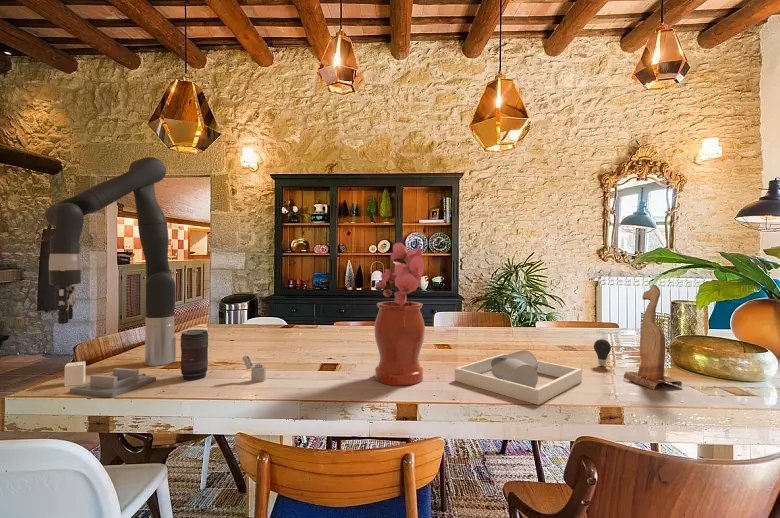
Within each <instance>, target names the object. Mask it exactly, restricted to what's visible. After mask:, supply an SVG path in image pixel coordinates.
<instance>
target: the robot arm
mask: <svg viewBox="0 0 780 518" xmlns="http://www.w3.org/2000/svg"><path fill="white" fill-rule="evenodd" d="M166 173H167V168H166V166H165V164H164V162H163V161H161V160H160V159H158V157H157V158H156V157H152V156H147V157H146V156H145V157H142V158H139V159H136V160H134V161H132V162H130V165H129V167H128V171H126V172H125V173H122V174H120V175H118V176H116V177H113V178H110V179H107V180H105V181H102V182H100V183H98V184H95V185H93V186H91V187H89V188H87V189H85V190H83V191H82V192H80V193H78V194H76V195H74V196H72V197H71V196H70V197H68V198H66V199H63V200H61V201H58V202H56V203H54V204H52V205H51V206H49V207H48V208H47V209H46V210H45V215H44V216H45V219H46V222H47V223H49V224H50V225H52V226H54V227H55V230H54V234H53V235H51V237H50V239H49V259H48V284H49V285H51V286H58V289H57V288H56V289H55V310H56V312H57V315H58V316H57V317H58V318H57V321H58V322H57V323H58V324H59V325H64V324H65V325H66V324H68V323H69V320H72V319H73V318H74V306H75V303H76V302H75V300H76V298H75V295H76V294H75V293H76V292H75V291H76V290H75V286H74V285H78V284H81V283H82V260H81V255H80V253H81V252H80V239H81V236H82V231H83V228H84V222H85V220H84V219H85V218H84V216H87V215H90V214H93V213H96V212H98V211H101V210H102V209H104V208H106V207H108V206H109V205H111V204H113V203H114V202H116V201H119V200H120V199H122V198H123V197H125V196H127V195H129V194H130V193H132V192H133V196H134V201H135V203H134V205H135V210H136V219H137V227H138V228H137V229H138V237H139V240H140V245H141V246H140V247H141V250H142V252H143V256H144V259H145V270H146V271H145V325H144V326H145V329H144V330H145V333H144V334H145V337H144V338H145V343H144V344H145V345H144V347H145V349H144V351H145V352H144V364H145V366H149V367H153V366H154V367H155V366H156V367H157V366H165V365H169V364H172V363H176V362H177V361H176V359H177V355H176V354H177V337H176V335H175V313H176V312H175V311H176V282H175V280H174V278H173V277H172V274H171V273H172V272H171V270H170V266H169V265H170V263H169V258H168V257H169V228H168V221H167V218H166V215H165V214H164V211H163V210H162V208H161V206H160V204H159V203H158V200H157V198H156V193H155V192H156V191H155V184H156V183H159V182H161V181H163V179H164V178H165V177H166Z"/></svg>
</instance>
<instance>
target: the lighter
mask: <svg viewBox="0 0 780 518" xmlns="http://www.w3.org/2000/svg"><path fill="white" fill-rule="evenodd" d="M242 360H243V362H244V363H243V364H244V366H245V367H246V369H247V370H250V372H251V373H250V375H251V376H250V377H251V378H250V379H251V380H250V381H251V382H254V383H255V382H257V383H258V382H261V383H264V382H265V381H266V380H267V378H266V376H267V375H266V374H267V370H266V369H267V366H264V365H263V363H255V364H253V363H252V359H251V358H250V356H249V354H247V355H244V356H243V357H242ZM254 365H255V366H254Z"/></svg>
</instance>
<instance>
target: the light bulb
mask: <svg viewBox="0 0 780 518" xmlns="http://www.w3.org/2000/svg"><path fill="white" fill-rule="evenodd" d="M593 349H594V351H595V353H596V355H597V360H598V365H600V367H604V366H606V365H607V358H608V356H609V354H610V353H611V350H612V346H611V343H610V342H609V341H608V340H606V339H603V338H600V339H597V340H596V341H594V344H593Z"/></svg>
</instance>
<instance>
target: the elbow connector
mask: <svg viewBox="0 0 780 518" xmlns="http://www.w3.org/2000/svg"><path fill="white" fill-rule="evenodd" d="M537 360H538V359H537V357H536V356H535V355H534V354H533V353H532V352H531V351H529V350H525V349H524V350H520V351H516V352H512V353H509V355H505V356H502V357H498V358H495V359H493V360H492V361H491V366H492V369H491V370H490V371H491V374H492V375H493V377H494V378H498V379H502V380H506V381H510V382H514V383H517V384H521V385H525V386H529V387H533V388H536V386H537V384H538V380H539V379H538V378H539V376H538V373H537V372H536V371H537V368H538V362H537Z"/></svg>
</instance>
